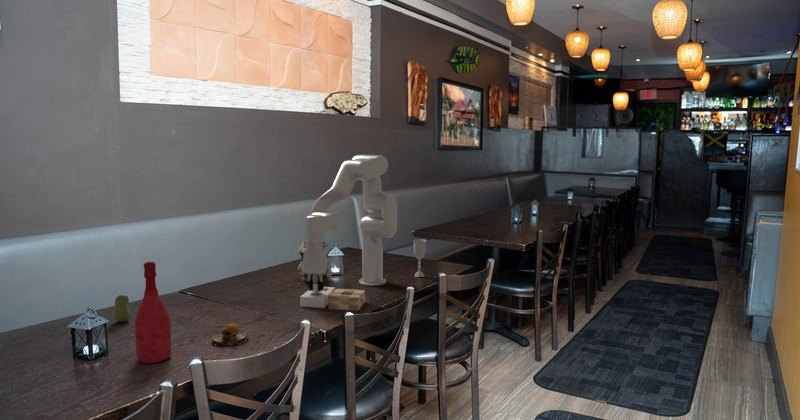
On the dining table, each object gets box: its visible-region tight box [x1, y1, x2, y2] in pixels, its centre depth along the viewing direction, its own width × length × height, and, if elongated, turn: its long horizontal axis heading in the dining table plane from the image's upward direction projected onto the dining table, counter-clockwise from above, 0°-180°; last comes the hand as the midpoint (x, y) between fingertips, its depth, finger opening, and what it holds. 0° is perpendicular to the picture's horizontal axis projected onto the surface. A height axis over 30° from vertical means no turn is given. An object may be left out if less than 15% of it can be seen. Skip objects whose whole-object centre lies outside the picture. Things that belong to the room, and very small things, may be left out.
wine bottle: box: [134, 261, 172, 364], centre depth 168 cm, size 10×10×30 cm
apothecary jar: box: [297, 240, 308, 283], centre depth 265 cm, size 12×12×18 cm
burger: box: [210, 321, 249, 347], centre depth 186 cm, size 12×12×8 cm
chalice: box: [412, 238, 427, 278], centre depth 271 cm, size 7×7×18 cm
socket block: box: [299, 286, 336, 309], centre depth 231 cm, size 18×10×4 cm, turn 170°
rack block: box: [327, 288, 366, 312], centre depth 225 cm, size 12×12×5 cm
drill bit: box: [312, 274, 320, 296], centre depth 227 cm, size 3×3×12 cm
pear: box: [112, 294, 132, 323], centre depth 203 cm, size 6×5×10 cm
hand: (316, 289), depth 227 cm, fingers closed on drill bit, 3 cm apart
